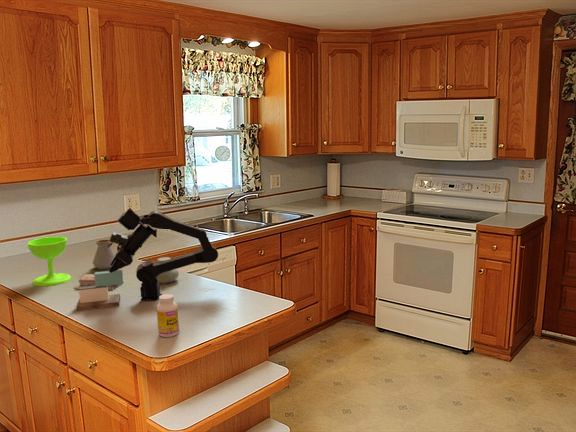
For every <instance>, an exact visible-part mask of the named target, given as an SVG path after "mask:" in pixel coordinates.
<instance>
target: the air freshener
mask: <svg viewBox="0 0 576 432" xmlns="http://www.w3.org/2000/svg"><path fill="white" fill-rule="evenodd" d="M169 259H172V258H171V257H169V256H168V257H167V256H166V257H160V258H157V260H156V263H159V262H162V261H166V260H169ZM178 277H179V271H178V269H174V270H171V271H167V272H164V273H161V274H160V275H158V276H157V278H158V281H159V284H169V283H172V282H174V281H175V280H176V279H178Z"/></svg>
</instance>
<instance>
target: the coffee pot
mask: <svg viewBox="0 0 576 432" xmlns="http://www.w3.org/2000/svg"><path fill="white" fill-rule="evenodd" d="M109 240H110V239H100V240H97V241H95V244H96V245H97V249H96V252H95V255H94V258H93V260H92V264H93V267H95V268H96V269H97V270H101V271H108V270H110V268H111V267H112V266H111V265H110V264H111V262H112V261H113V259H114V257H115V255H116V253H115V252H114V251H113V248H114V246H115V243H112V242H110V241H109Z"/></svg>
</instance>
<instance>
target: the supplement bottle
mask: <svg viewBox="0 0 576 432" xmlns="http://www.w3.org/2000/svg"><path fill="white" fill-rule="evenodd" d="M174 297H175V296H174V295H173V294H171V293H165V294H162V295H161V296H159V299H158V301H159V303H158V304H157V306H156V316H157V317H156V318H157V331H158V336H160V337H162V338H171V337H174V336H177V335H178V334H179V333H180V326H179V324H180V322H179V309H178V307H179V306H178V304H177V302H175V301H174V300H175V298H174Z"/></svg>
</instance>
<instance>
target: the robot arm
mask: <svg viewBox="0 0 576 432" xmlns="http://www.w3.org/2000/svg"><path fill="white" fill-rule="evenodd" d="M116 221H117V223H118V224H120V225H122V226H123V227H124V228H125V229H126V230H128V231H130V230H131V231H133V232H132V233H130V234H128V235H125V234H122V233H119V232H117V231H112V232H111V235H110V238H109V239H108V240H109V241H110V243H112V244H113V243H114V244H116V245H117V246H116V250H117V252H116V253H115V257H114V259H113V261H112V262H111V264H110V265H111V266H112V267H111V268H110V269H108V271H109V272H110V273H112V272H114V271H116V270H122V269H124V268H126V267H129V266H131V264H132V263H133V262H134V256H135V255H136V253H137V252H138V250H139V249H141V248H142V247H143V244H145V242H146V241H147V240H148V239H149V238H150V237H151V236H153V237H155V238H157V237H158V235H157V232H158V229H159V230H169V231H172V232H176V233H179V234H182V235H186V236H188V237H192V238H194V239H197V240H198V241H199V243H200V247H199V248H198V249H196V250H194V252H191V253H186V254H183V255H180V256H177V257H172V258H171V259H169V260H166V261H162V262H159V263H157V262H154V260H153V259H149V260H147V261H142V262H141V263H140V264H139V265H138V266H137V268H136V272H135V273H136V275H135V276H136V279H137V280H138V282H141V283H140V285H141V286H140V287H139V289H140V297H141V298H140V301H159V296H161V295H163V294H162V293H161V288H160V283H159V281H158V278H157V276H158V275H160V274H161V273H164V272H167V271H171V270H174V269H177V270H178V269H181V268H183V267H187V266H191V265H194V264H207V263H209V264H210V263H213V262H216V261H217V259H218V257H219V252H218V250H217V248H216V246H215V245H213V244H212V243H211V241H210V240H209V237H208V236H207V232H206V230H205V229H204V228H201V227H200V228H199V227H197V226H193V225H191V224H187V223H184V222H181V221H180V220H179V221H178V220H176V219H173V218H171V217H170V216H167V215H166V214H164V213H163V212H160V211H159V210H152V211H149V213H147V214H142V215H139V214H137V213H136V212H135V211H134V210H133V209H132V208H131V207H129V208H128V209H127V210H126V211H124V212H123V213H122V214H121V215H120V216H119V218H118V219H117V220H116Z"/></svg>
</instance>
